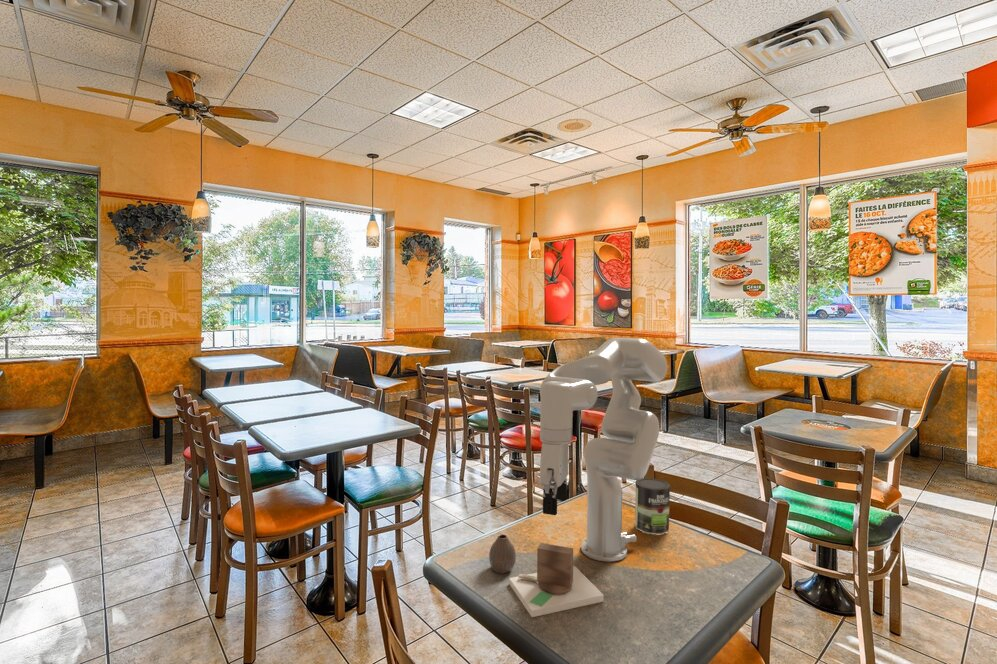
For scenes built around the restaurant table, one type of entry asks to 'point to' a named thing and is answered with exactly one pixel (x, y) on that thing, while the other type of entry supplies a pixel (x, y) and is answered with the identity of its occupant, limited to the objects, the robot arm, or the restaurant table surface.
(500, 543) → the vase
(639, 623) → the restaurant table surface
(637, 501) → the coffee can
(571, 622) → the restaurant table surface
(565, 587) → the dial knob
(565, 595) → the dial board
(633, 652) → the restaurant table surface
